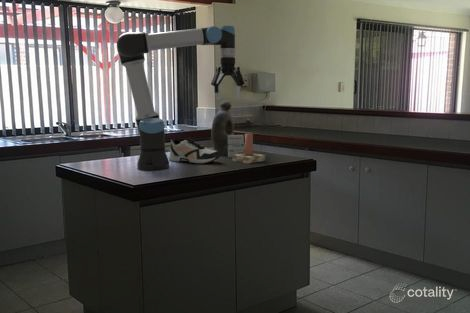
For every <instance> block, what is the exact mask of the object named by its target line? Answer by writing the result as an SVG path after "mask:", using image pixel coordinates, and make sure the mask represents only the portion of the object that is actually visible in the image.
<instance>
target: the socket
mask: <svg viewBox="0 0 470 313" xmlns="http://www.w3.org/2000/svg"><path fill="white" fill-rule="evenodd" d="M231 158H232V161H233V162H237V163H244V164H252V163H253V164H255V163H259V162H265V161H266V154H261V153H254V152H253V156H245V152H244V153H243V154H235V155H232V157H231Z"/></svg>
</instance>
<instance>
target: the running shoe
mask: <svg viewBox="0 0 470 313" xmlns="http://www.w3.org/2000/svg"><path fill="white" fill-rule="evenodd" d="M169 145H170V146H169V155H168V156H167V158H168V161H169V162H179V163H181V162H184V161H185V162H188V163H190V164H191V163H192V164H198V165H199V164H208V163H211V162H214V161H216V160H218V159H220V158H221V155H220V153H219V151H215V150H213V149H209V148H208V147H205V145H204V146H203V145H201V144H200V143H198V142H196V141H195V140H193V139H191V138H187V139H184V140H182V141H181V140H180V139H178V138H175V139H170V144H169Z"/></svg>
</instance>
